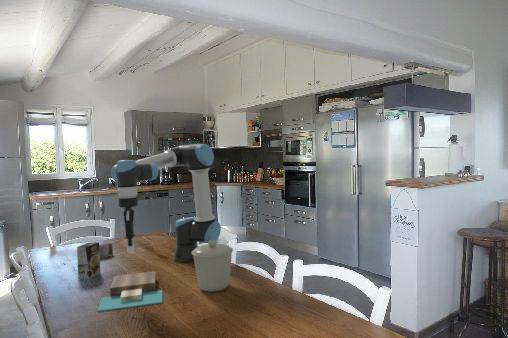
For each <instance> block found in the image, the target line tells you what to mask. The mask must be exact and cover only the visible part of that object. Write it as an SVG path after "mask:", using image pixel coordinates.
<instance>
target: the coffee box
mask: <svg viewBox="0 0 508 338" xmlns="http://www.w3.org/2000/svg"><path fill="white" fill-rule="evenodd" d="M99 245H100V242H98V241H97V242H95V241H94V242H93V241H92V242H87V243H83V244H81V245H78V246H77V247H76V253H77V274H78V275H77V276H78V279H79V280H90V279H93V278H95V277H97V276H99V275H100V274H101V258H100V251H99Z"/></svg>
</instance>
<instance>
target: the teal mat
mask: <svg viewBox="0 0 508 338" xmlns="http://www.w3.org/2000/svg"><path fill="white" fill-rule="evenodd" d="M158 304H163V289H161V290H155V291H151V292H143V293H142V299H141V300H134V301H127V302H121V295H120V296H112V297H111V296H105V297H102V298H101V301H100V303H99V305H98V308H97V309H96V311H97V313H101V312H107V311H113V310H115V311H116V310H121V309H127V308H128V309H129V308H135V307H136V308H137V307H144V306H149V305H150V306H151V305H152V306H153V305H158Z"/></svg>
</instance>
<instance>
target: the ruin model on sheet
mask: <svg viewBox="0 0 508 338" xmlns="http://www.w3.org/2000/svg"><path fill="white" fill-rule="evenodd" d="M113 245H114V244H113V243H111V242H109V243H106V244H101V245H100V244H99V251H100V259H105V258H108V256H110V257H113V256H114V247H113ZM104 257H105V258H104Z"/></svg>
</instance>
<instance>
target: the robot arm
mask: <svg viewBox="0 0 508 338" xmlns="http://www.w3.org/2000/svg"><path fill="white" fill-rule="evenodd" d="M214 160H215V155H214V152H213V149H212V147H211V146H209V144H206V143H194V144H193V143H192V144H181V145H178V146H174V147H172V148H169V149H166V150H164V152H162V153H158V154H155V155H151V156H148V157H144V158H140V159H137V160H134V159H122V160H118V161H117V162H116V164H115V165H113V166H112V167H111V170H110V175H111V178H112V180H114V181H116V182H117V189H116V192H117V193H118V197H119V198H118V207H119V208H124V211H123V219H124V227H125V236H124V239H126V250H127V251H126V254H127V255H128V254H135V239H134V238H135V237H136V234H135V231H134V221H135V215H134V214H135V210H133V208H134V207H135V208H136V207H137V206H138V205H139V200H138V199H139V198H138V197H137V196H139V195H138V182H146V181H153V180H156V179H157V178H158V177H159V171H160V170H162V169H165V168H168V167H169V168H173V167H188V171H189V172H190V173H191V176H192V186H193V196H194V203H195V204H194V205H195V214H196V216H191V217H184V218H179V219H177V220H176V221H175V226H174V227H175V239H176V240H175V242H176V243H175V244H176V246H175V249H174V250H175V251H174V254H173V260H174V262H177V263H189V262H194V257H193V255H192V251H193V250H194V249H196V248H197V247H199V246H198V242H199V243H205V244H208V242H209V241H210V240H215V241H216V242H217V241H218V239H219V237H220V235H221V232H222V227H221V224H220V222H219V221H217V220H216V216H215V215H214V214H213V210H212V209H213V208H212V199H211V198H212V197H211V189H210V179H209V170H210V169H211V165H213V163H214Z"/></svg>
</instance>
